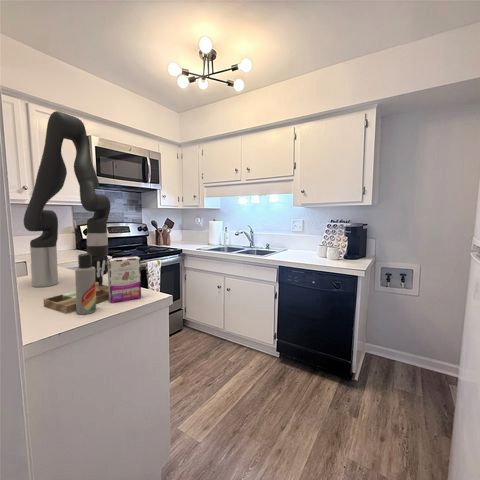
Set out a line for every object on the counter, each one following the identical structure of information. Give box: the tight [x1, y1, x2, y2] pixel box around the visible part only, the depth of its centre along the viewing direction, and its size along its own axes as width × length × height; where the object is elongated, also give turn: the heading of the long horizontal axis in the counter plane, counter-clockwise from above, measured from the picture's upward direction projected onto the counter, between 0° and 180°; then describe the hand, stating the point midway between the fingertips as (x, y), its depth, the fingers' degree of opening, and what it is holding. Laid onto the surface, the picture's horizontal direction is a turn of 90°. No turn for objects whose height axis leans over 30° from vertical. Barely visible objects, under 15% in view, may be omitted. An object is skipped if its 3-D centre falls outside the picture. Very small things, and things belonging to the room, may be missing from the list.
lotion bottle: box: [74, 252, 97, 315], centre depth 86 cm, size 6×6×20 cm
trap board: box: [43, 284, 109, 314], centre depth 97 cm, size 13×22×2 cm, turn 155°
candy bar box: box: [107, 256, 142, 304], centre depth 99 cm, size 11×5×16 cm, turn 126°
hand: (98, 285), depth 105 cm, fingers closed
